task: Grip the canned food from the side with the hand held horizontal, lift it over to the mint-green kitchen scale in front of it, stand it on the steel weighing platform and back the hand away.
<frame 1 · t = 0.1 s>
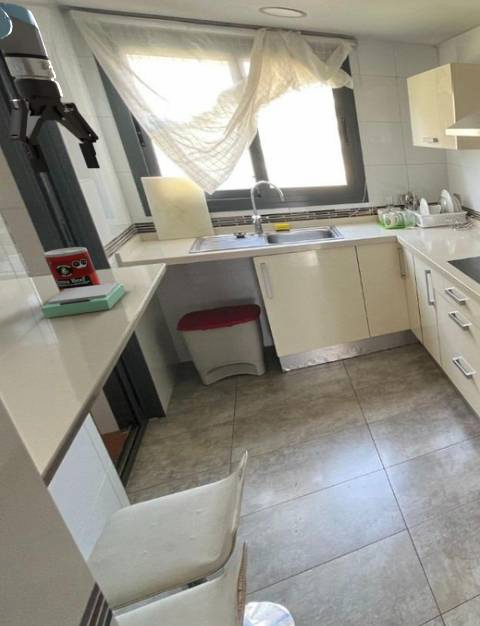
hand: (70, 170, 119), 29 cm above the countertop, tool pointing down, fingers open, 13 cm apart
canned food: (82, 292, 119), on the countertop
scale: (88, 304, 111), on the countertop
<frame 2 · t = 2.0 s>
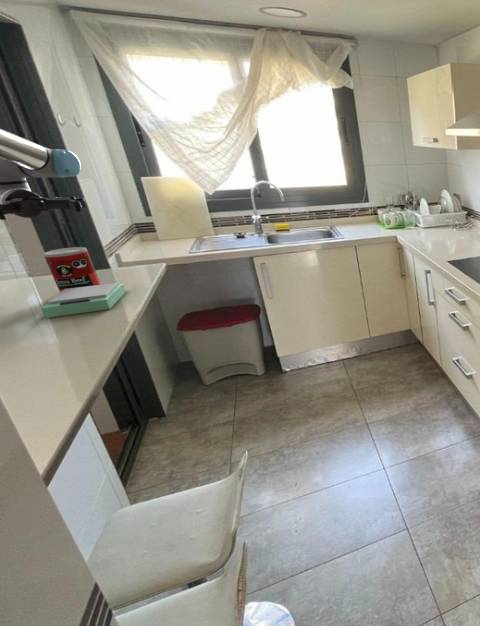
hand: (40, 210, 117), 20 cm above the countertop, tool horizontal, fingers open, 13 cm apart
nothing on the countertop moved.
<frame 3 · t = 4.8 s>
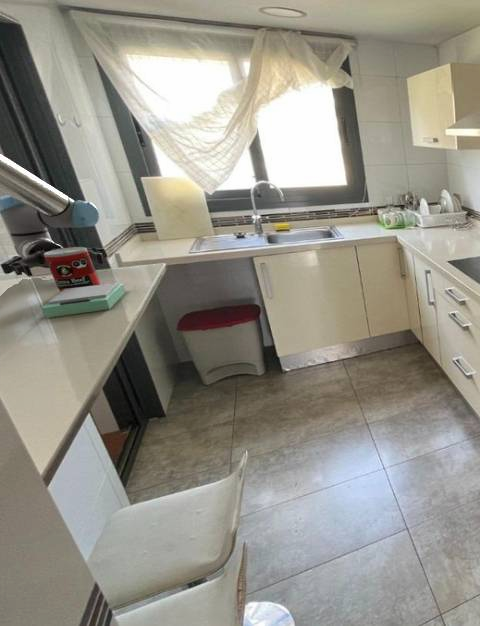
hand: (65, 264, 121), 6 cm above the countertop, tool horizontal, fingers open, 13 cm apart
nothing on the countertop moved.
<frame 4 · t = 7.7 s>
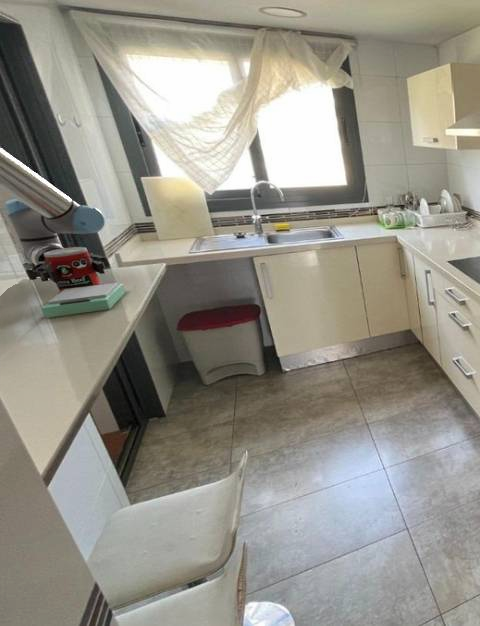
hand: (78, 272, 115), 6 cm above the countertop, tool horizontal, fingers closed on canned food, 8 cm apart
canned food: (82, 292, 119), on the countertop, touching gripper
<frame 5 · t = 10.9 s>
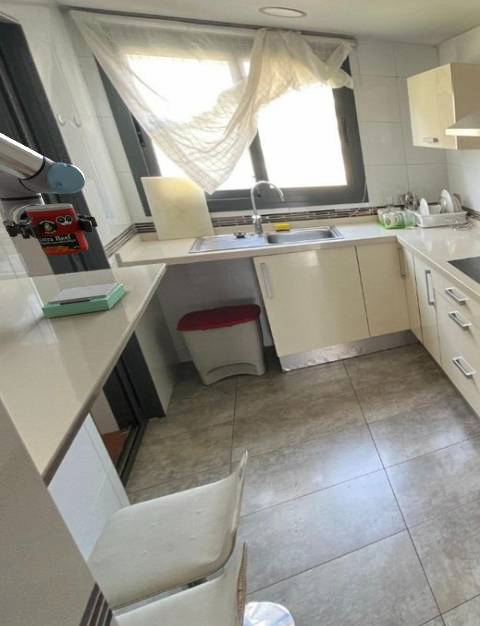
hand: (63, 229, 106), 18 cm above the countertop, tool horizontal, fingers closed on canned food, 8 cm apart
canned food: (68, 252, 111), point 12 cm above the countertop, touching gripper
when the fingers open (9 cm above the countertop, at t = 14.6 s): canned food stays where it is, resting on scale.
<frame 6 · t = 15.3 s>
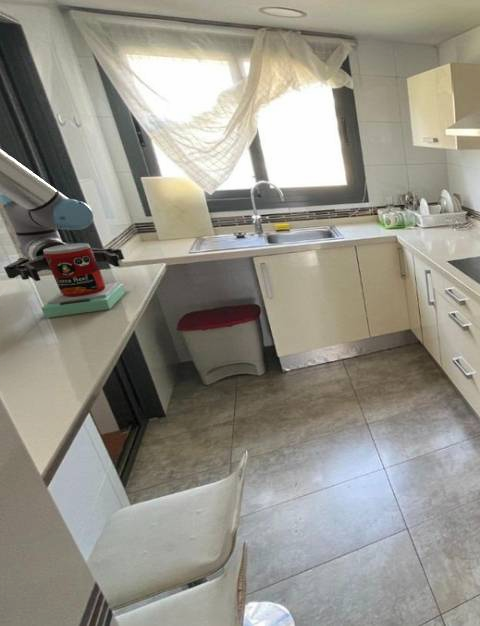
hand: (77, 267, 106), 10 cm above the countertop, tool horizontal, fingers open, 13 cm apart
canned food: (85, 292, 110), point 3 cm above the countertop, touching scale
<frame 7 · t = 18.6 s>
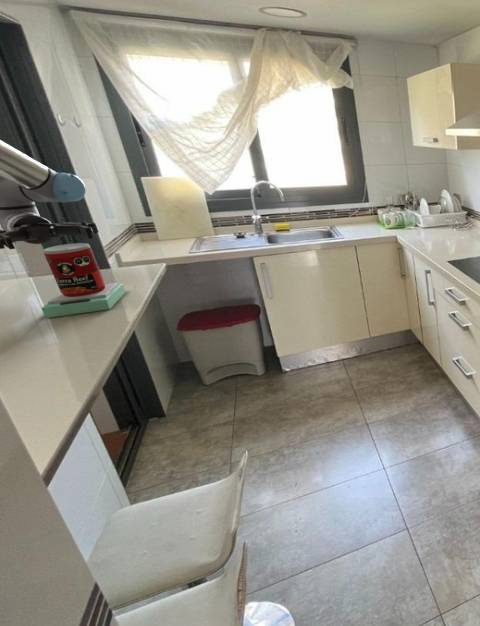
hand: (51, 238, 111), 15 cm above the countertop, tool horizontal, fingers open, 13 cm apart
nothing on the countertop moved.
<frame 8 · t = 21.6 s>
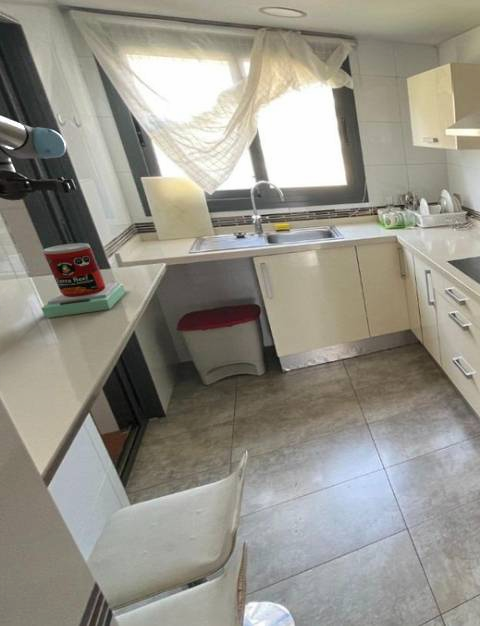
hand: (25, 190, 108), 26 cm above the countertop, tool horizontal, fingers open, 13 cm apart
nothing on the countertop moved.
at the end: canned food 0.0 cm off-centre on the scale, point 2.8 cm above the scale's base; canned food tilted 0°; the gripper is holding nothing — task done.
